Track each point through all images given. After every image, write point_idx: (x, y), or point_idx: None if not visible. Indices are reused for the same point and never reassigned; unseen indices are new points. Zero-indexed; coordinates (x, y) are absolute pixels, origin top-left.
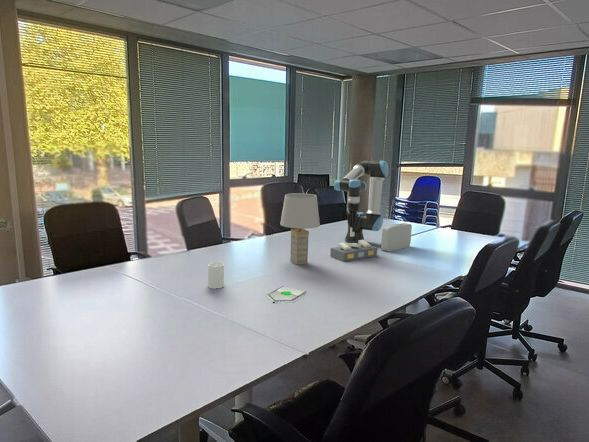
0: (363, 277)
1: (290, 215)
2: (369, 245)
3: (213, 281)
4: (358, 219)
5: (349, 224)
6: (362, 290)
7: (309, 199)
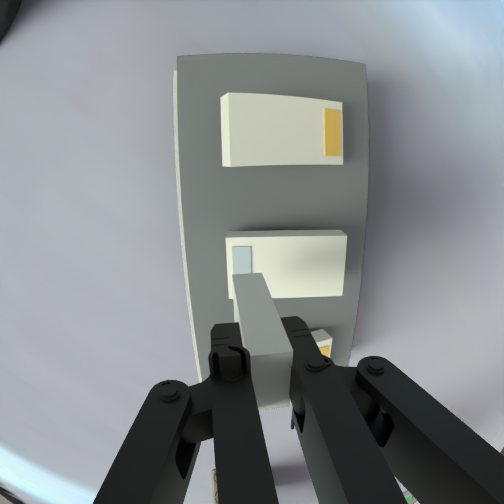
0: (477, 365)
1: None
2: (339, 115)
3: None
4: (492, 467)
5: (198, 435)
6: (496, 398)
7: None
